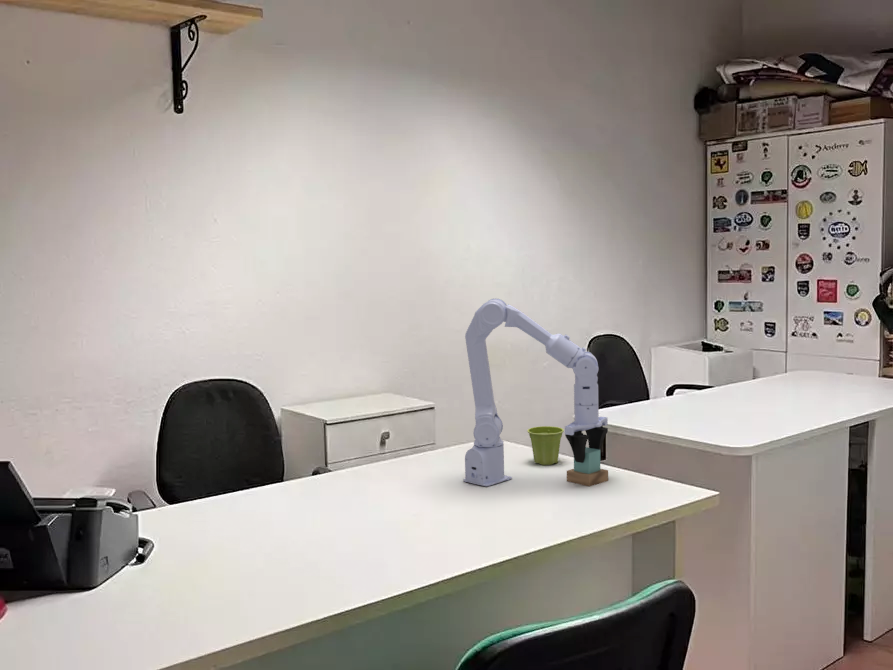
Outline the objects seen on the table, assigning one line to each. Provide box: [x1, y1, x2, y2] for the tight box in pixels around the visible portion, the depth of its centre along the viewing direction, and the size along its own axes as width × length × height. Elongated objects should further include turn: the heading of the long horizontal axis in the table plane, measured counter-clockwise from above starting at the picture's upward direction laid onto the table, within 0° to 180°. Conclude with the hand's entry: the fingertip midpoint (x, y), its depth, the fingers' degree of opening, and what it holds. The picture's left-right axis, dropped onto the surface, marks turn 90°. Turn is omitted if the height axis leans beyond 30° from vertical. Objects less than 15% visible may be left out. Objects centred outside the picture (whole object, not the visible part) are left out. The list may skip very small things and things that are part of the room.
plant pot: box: [526, 425, 565, 466], centre depth 234 cm, size 9×9×9 cm
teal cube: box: [573, 446, 601, 474], centre depth 215 cm, size 4×4×5 cm
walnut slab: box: [566, 468, 609, 487], centre depth 215 cm, size 7×7×3 cm
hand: (587, 459), depth 215 cm, fingers open, 5 cm apart
